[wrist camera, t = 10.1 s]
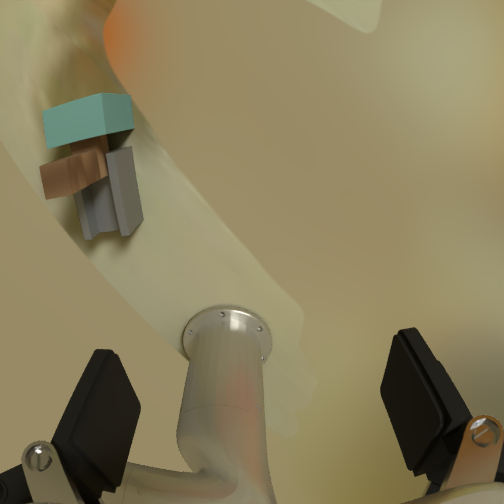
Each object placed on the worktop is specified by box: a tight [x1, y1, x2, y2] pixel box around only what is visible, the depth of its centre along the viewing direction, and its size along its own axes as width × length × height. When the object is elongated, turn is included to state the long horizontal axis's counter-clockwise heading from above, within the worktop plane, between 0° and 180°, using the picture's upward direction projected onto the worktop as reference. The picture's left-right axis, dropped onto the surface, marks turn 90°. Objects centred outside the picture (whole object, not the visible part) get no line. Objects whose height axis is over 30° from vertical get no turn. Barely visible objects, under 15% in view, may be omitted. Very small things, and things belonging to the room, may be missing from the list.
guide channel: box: [74, 146, 144, 240], centre depth 33 cm, size 9×6×5 cm, turn 4°
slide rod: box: [40, 134, 109, 200], centre depth 26 cm, size 7×3×9 cm, turn 4°
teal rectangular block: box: [42, 93, 134, 149], centre depth 28 cm, size 4×7×8 cm, turn 95°
